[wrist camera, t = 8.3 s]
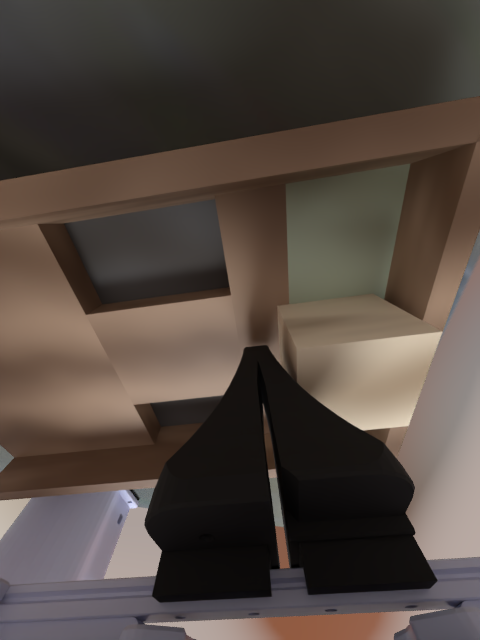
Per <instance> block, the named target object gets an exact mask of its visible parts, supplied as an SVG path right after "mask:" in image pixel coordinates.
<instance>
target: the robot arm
mask: <svg viewBox="0 0 480 640" xmlns="http://www.w3.org/2000/svg"><path fill="white" fill-rule="evenodd" d="M263 405H264V410H265V414H266V418H267V422H268V427H269V431H270V436H271V441H272V447H273V454H274V461H275V468H276V475H277V482H278V489H279V496H280V503H281V510H282V517H283V524H284V530H285V538H286V545H287V552H288V559H289V565H290V568H286V569H280V563H279V556H278V548H277V540H276V531H275V522H274V514H273V506H272V498H271V489H270V481H269V473H268V465H267V457H266V448H265V438H264V416H263ZM414 489H415V487H414V484H413V481H412V480H411V478H410V477H409V475H408V474H407V472H406V471H405V469H404V468H403V466H402V465H401V464H400V462H399V461H398V460H397V458H396V457H395V456H394V455H393V453H392V452H391V451H390V450H389V448H388V447H387V446H386V445H385V444H384V442H382V441H381V440H379V439H377V438H375V437H373V436H372V435H370V434H368V433H366V432H365V431H363V430H361V429H359V428H357V427H356V426H354V425H352V424H351V423H349V422H347V421H346V420H344V419H343V418H341V417H340V416H338V415H337V414H335V413H334V412H333V411H331V410H330V409H328V408H327V407H326V406H324V405H323V404H322V403H320V402H319V401H318V400H316V399H315V398H314V397H313V396H311V395H310V394H309V393H308V392H307V391H306V390H305V389H303V388H302V387H301V386H300V385H299V384H298V383H297V382H296V381H295V380H294V379H293V378H292V377H291V376H290V375H289V374H288V373H287V371H286V370H285V369H284V368H283V367H282V366H281V364H280V363H279V362H278V361H277V359H276V358H275V357H274V355H273V354H272V352H271V351H270V349H269V347H268V346H267V345H260V346H252V347H245V348H244V350H243V355H242V358H241V361H240V364H239V366H238V368H237V371H236V373H235V375H234V377H233V379H232V381H231V383H230V385H229V387H228V388H227V390H226V392H225V394H224V395H223V397H222V398H221V400H220V401H219V403H218V404H217V406H216V407H215V408H214V410H213V411H212V413H211V414H210V415H209V417H208V418H207V419H206V420H205V421H204V423H203V424H202V425H201V426H200V427H199V428H198V430H197V431H196V432H195V433H194V434H193V435H192V436H191V438H190V439H189V440H188V441H187V442H186V443H185V444H184V445H183V446H182V447H181V448H180V449H179V450H178V451H177V452H176V453H175V454H174V455H173V456H172V457H171V458H170V459H169V460H168V461H166V462H165V465H164V467H163V469H162V472H161V474H160V476H159V479H158V481H157V484H156V486H155V489H154V492H153V496H152V499H151V502H150V505H149V508H148V512H147V515H146V518H145V527H146V530H147V532H148V534H149V535H150V536H151V538H152V539H153V540H154V541H155V543H156V544H157V545H158V546H159V547H160V549H161V550H162V554H161V558H160V562H159V567H158V571H157V575H156V576H151V577H135V578H117V579H104V576H105V573H106V571H107V568H108V565H109V563H110V560H111V557H112V554H113V552H114V549H115V546H116V544H117V541H118V539H119V536H120V533H121V530H122V528H123V525H124V522H125V520H126V517H127V514H128V512H129V509H130V508H137V507H138V504H139V502H138V501H137V499H136V498H135V497H134V495H133V494H132V493H131V491H130V490H118V491H107V492H95V493H83V494H71V495H59V496H47V497H35V498H31V500H30V501H29V502H28V504H27V505H26V506H25V508H24V509H23V510H22V512H21V513H20V514H19V516H18V517H17V518H16V520H15V521H14V523H13V524H12V525H11V526H10V528H9V529H8V530H7V532H6V533H5V535H4V536H3V537H2V539H1V540H0V640H195V639H192V638H191V637H189V636H187V635H186V632H185V630H184V628H177V627H167V626H155V625H145V624H144V623H157V622H178V621H200V620H222V619H243V618H265V617H287V616H308V615H328V614H329V615H330V614H351V613H372V612H394V611H414V610H415V611H416V610H438V609H447V610H442V611H436V612H432V613H426V614H420V615H415V616H411V617H410V621H409V623H410V625H409V626H408V627H407V628H406V629H403V630H401V631H399V632H397V633H395V634H394V640H480V557H472V558H457V559H456V558H455V559H438V560H426V558H425V557H424V555H423V553H422V551H421V549H420V548H419V546H418V544H417V542H416V540H415V539H414V537H413V535H415V530H414V527H413V526H412V524H411V522H410V521H409V519H408V517H407V515H406V513H405V512H406V510H407V508H408V506H409V504H410V502H411V500H412V498H413V494H414Z"/></svg>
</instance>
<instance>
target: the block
mask: <svg viewBox="0 0 480 640" xmlns="http://www.w3.org/2000/svg"><path fill="white" fill-rule="evenodd" d="M277 311H278V327H279V344H280V361H281V366H282V367H283V368H284V369H285V370H286V371H287V373H288V374H289V375H290V376H291V377H292V378H293V379H294V380H295V381H296V382H297V383H298V384H299V385H300V386H301V387H302V388H303V389H305V390H306V391H307V392H308V393H309V394H310V395H311V396H313V397H314V398H315V399H316V400H318V401H319V402H320V403H322V404H323V405H324V406H326V407H327V408H328V409H330V410H331V411H333V412H334V413H335V414H337V415H338V416H340V417H341V418H343V419H344V420H346V421H347V422H349V423H351V424H352V425H354V426H356V427H357V428H359V429H361V430H372V429H383V428H393V427H404V426H409V423H410V420H411V417H412V415H413V412H414V409H415V406H416V404H417V401H418V398H419V395H420V393H421V390H422V387H423V384H424V381H425V379H426V376H427V373H428V370H429V368H430V365H431V362H432V359H433V357H434V354H435V351H436V348H437V345H438V343H439V340H440V337H441V334H442V331H440V330H439V329H437V328H435V327H433V326H431V325H430V324H428V323H426V322H424V321H422V320H420V319H419V318H417V317H415V316H413V315H411V314H409V313H408V312H406V311H404V310H402V309H400V308H398V307H397V306H395V305H393V304H391V303H389V302H387V301H386V300H384V299H382V298H380V297H378V296H376V295H375V294H365V295H358V296H350V297H342V298H334V299H327V300H319V301H311V302H304V303H296V304H288V305H280V306H277Z"/></svg>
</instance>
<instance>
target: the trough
mask: <svg viewBox="0 0 480 640" xmlns="http://www.w3.org/2000/svg"><path fill="white" fill-rule="evenodd" d="M479 230H480V96H478V97H472V98H467V99H461V100H455V101H450V102H444V103H438V104H433V105H427V106H421V107H416V108H410V109H404V110H399V111H393V112H387V113H382V114H376V115H370V116H365V117H359V118H353V119H347V120H342V121H336V122H330V123H325V124H319V125H313V126H308V127H302V128H296V129H291V130H285V131H279V132H274V133H268V134H262V135H257V136H251V137H245V138H240V139H234V140H228V141H223V142H217V143H211V144H206V145H200V146H194V147H189V148H183V149H177V150H172V151H166V152H160V153H155V154H149V155H143V156H138V157H132V158H126V159H121V160H115V161H109V162H104V163H98V164H92V165H87V166H81V167H75V168H70V169H64V170H58V171H53V172H47V173H41V174H36V175H30V176H24V177H19V178H13V179H7V180H2V181H0V445H1V446H2V447H4V448H5V449H6V450H7V451H8V452H9V453H10V454H11V455H12V456H13V457H14V459H13V460H12V461H11V462H10V463H9V464H8V465H7V466H6V467H5V468H4V470H3V471H2V472H1V473H0V500H10V499H23V498H35V497H47V496H59V495H71V494H83V493H95V492H107V491H118V490H130V489H142V488H154V487H155V486H156V484H157V481H158V479H159V476H160V474H161V472H162V469H163V467H164V465H165V462H166V461H168V460H169V459H170V458H171V457H172V456H173V455H174V454H175V453H176V452H177V451H178V450H179V449H180V448H181V447H182V446H183V445H184V444H185V443H186V442H187V441H188V440H189V439H190V438H191V436H192V435H193V434H194V433H195V432H196V431H197V430H198V428H199V427H200V426H201V425H202V424H203V423H204V421H205V420H206V419H207V418H208V417H209V415H210V414H211V413H212V411H213V410H214V408H215V407H216V406H217V404H218V403H219V401H220V400H221V398H222V397H223V395H224V394H225V392H226V390H227V388H228V387H229V385H230V383H231V381H232V379H233V377H234V375H235V373H236V371H237V368H238V366H239V364H240V361H241V358H242V355H243V350H244V348H245V347H252V346H260V345H267V346H268V347H269V349H270V351H271V352H272V354H273V355H274V357H275V358H276V359H277V361H278V362H279V363H280V364H281V361H280V344H279V327H278V311H277V306H280V305H288V304H296V303H304V302H311V301H319V300H327V299H334V298H342V297H350V296H358V295H365V294H375V295H376V296H378V297H380V298H382V299H384V300H386V301H387V302H389V303H391V304H393V305H395V306H397V307H398V308H400V309H402V310H404V311H406V312H408V313H409V314H411V315H413V316H415V317H417V318H419V319H420V320H422V321H424V322H426V323H428V324H430V325H431V326H433V327H435V328H437V329H439V330H440V331H442V332H443V329H444V327H445V324H446V321H447V318H448V316H449V313H450V310H451V307H452V304H453V302H454V299H455V296H456V293H457V291H458V288H459V285H460V282H461V280H462V277H463V274H464V271H465V268H466V266H467V263H468V260H469V257H470V255H471V252H472V249H473V246H474V244H475V241H476V238H477V235H478V232H479ZM441 335H442V334H441ZM440 338H441V337H440ZM437 346H438V345H437ZM436 349H437V348H436ZM432 360H433V359H432ZM431 363H432V362H431ZM428 371H429V370H428ZM427 374H428V373H427ZM424 382H425V381H424ZM423 385H424V384H423ZM419 396H420V395H419ZM418 399H419V398H418ZM415 407H416V406H415ZM414 410H415V409H414ZM263 416H264V438H265V448H266V457H267V465H268V473H269V478H274V477H277V475H276V468H275V461H274V454H273V447H272V441H271V436H270V431H269V427H268V422H267V418H266V414H265V410H264V405H263ZM411 418H412V417H411ZM410 421H411V420H410ZM407 428H408V426H404V427H393V428H383V429H372V430H363V431H365V432H366V433H368V434H370V435H372V436H373V437H375V438H377V439H379V440H381V441H382V442H384V444H385V445H386V446H387V447H388V448H389V450H390V451H391V452H392V453H393V455H394V456H395V457H396V458H397V457H398V454H399V451H400V448H401V446H402V443H403V440H404V437H405V434H406V432H407Z"/></svg>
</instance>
